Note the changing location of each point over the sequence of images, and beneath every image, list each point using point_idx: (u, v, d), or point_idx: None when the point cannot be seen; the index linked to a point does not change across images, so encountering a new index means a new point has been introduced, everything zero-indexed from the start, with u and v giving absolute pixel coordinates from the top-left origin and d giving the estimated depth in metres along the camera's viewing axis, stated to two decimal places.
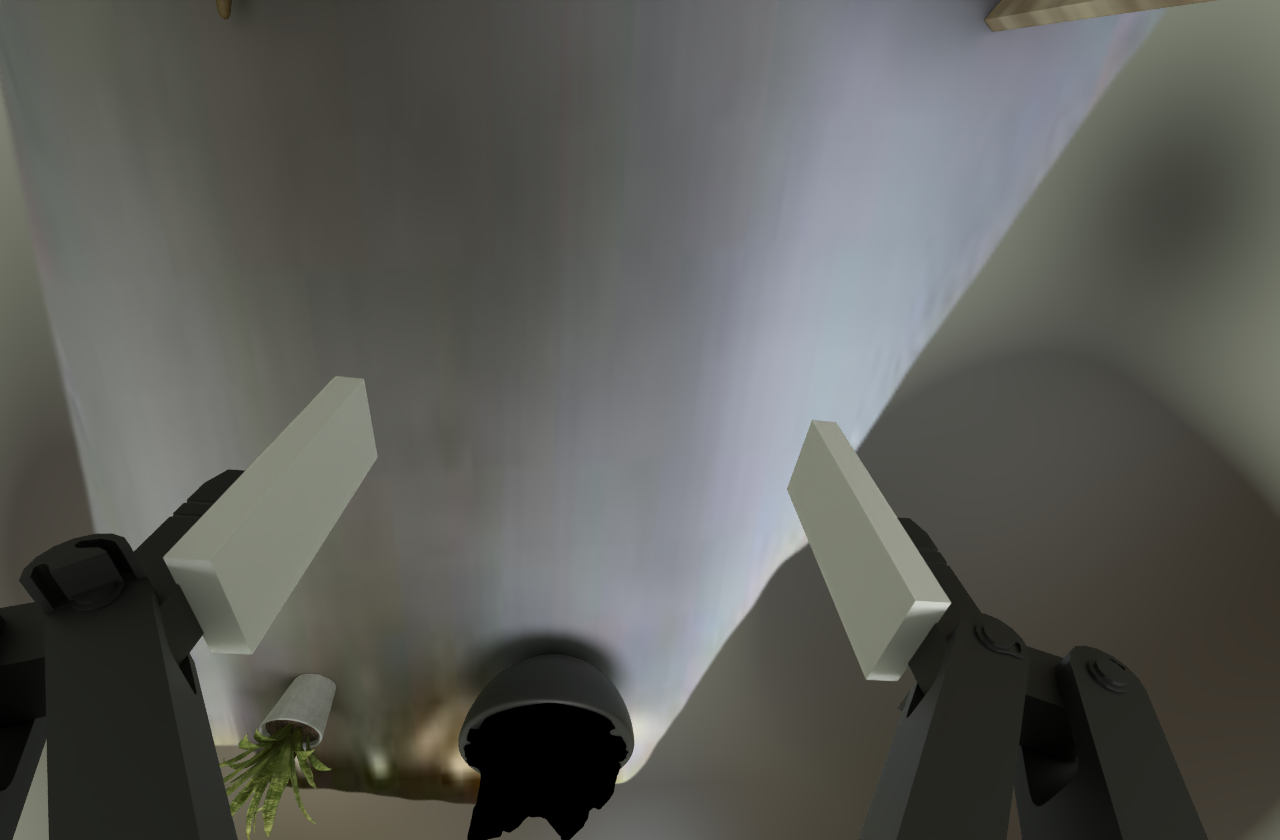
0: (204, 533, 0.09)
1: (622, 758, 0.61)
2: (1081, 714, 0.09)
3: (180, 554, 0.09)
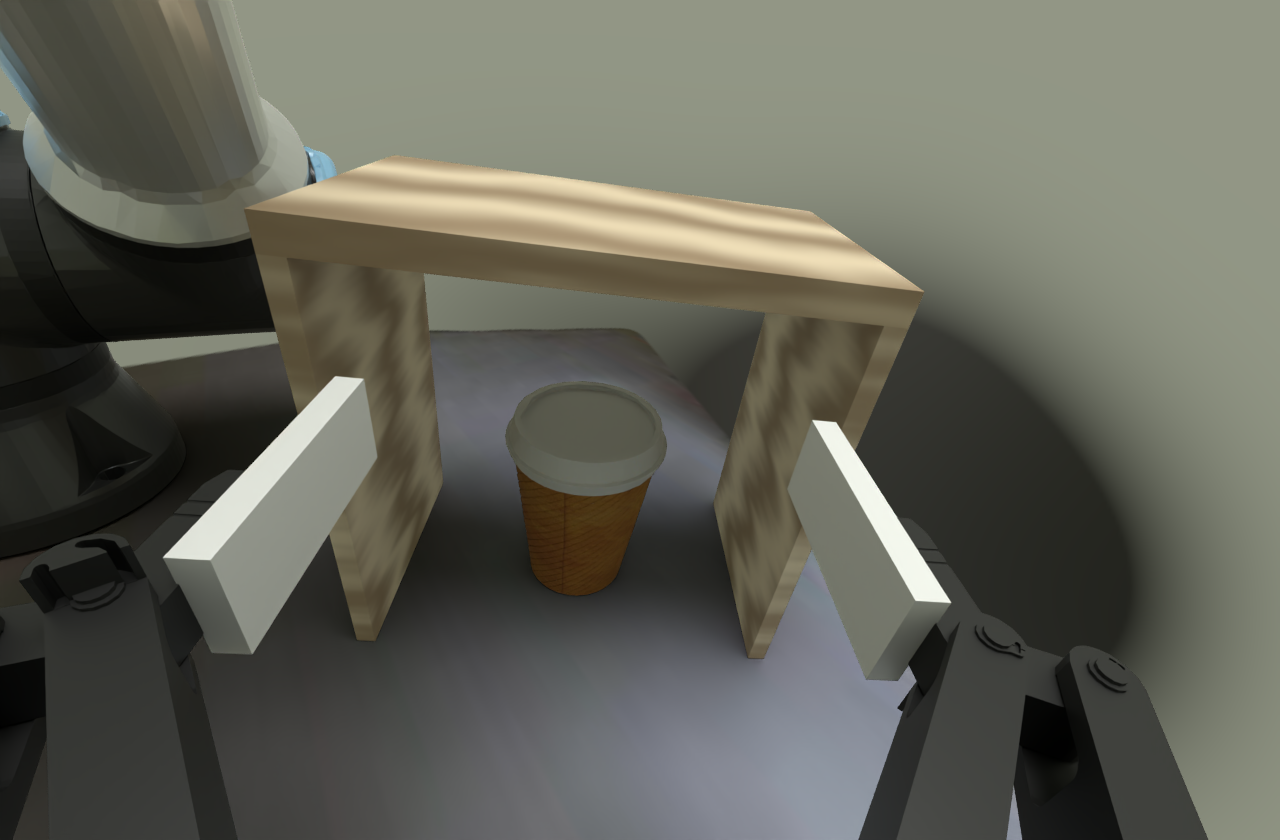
0: (204, 533, 0.09)
1: None
2: (1081, 714, 0.09)
3: (180, 554, 0.09)
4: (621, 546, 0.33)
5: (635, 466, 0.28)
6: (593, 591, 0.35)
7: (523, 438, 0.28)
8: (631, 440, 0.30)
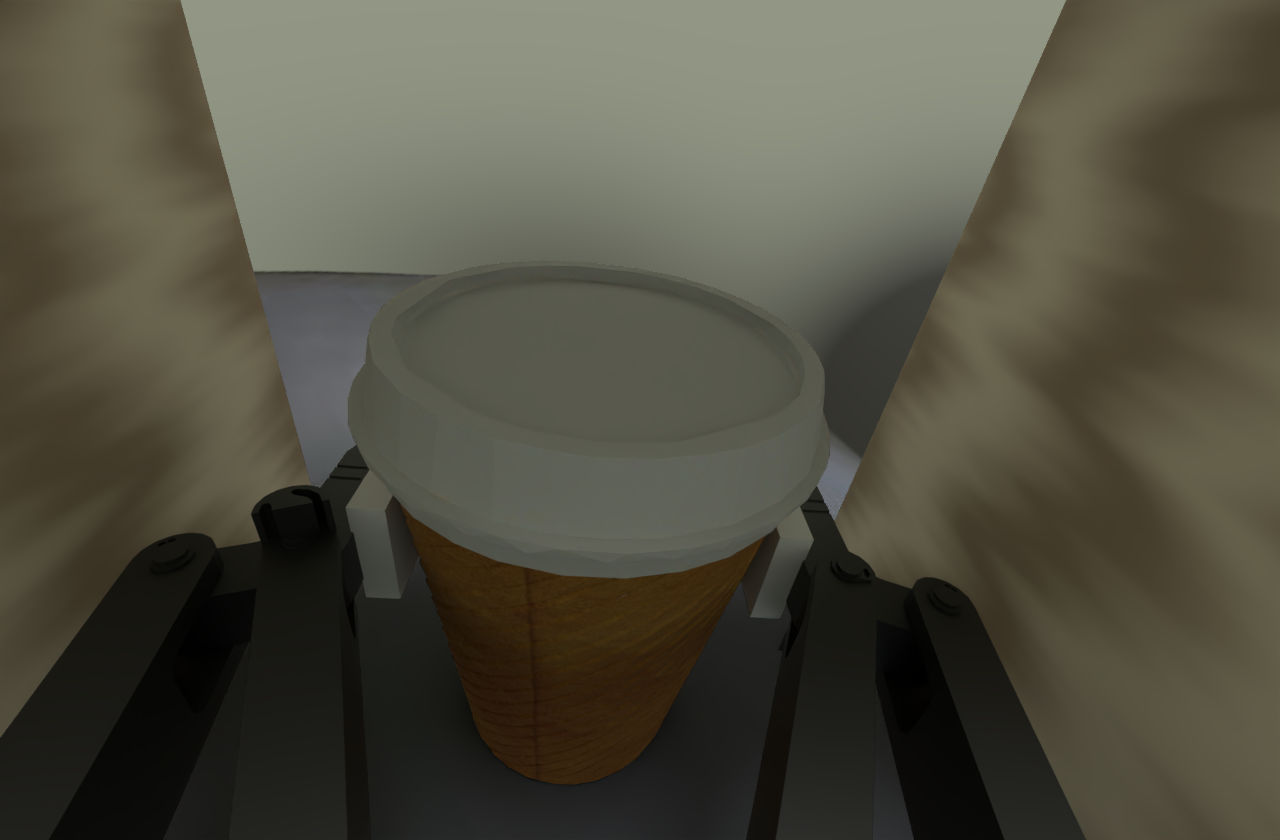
0: (372, 489, 0.11)
1: None
2: (929, 643, 0.10)
3: (359, 505, 0.10)
4: (686, 675, 0.13)
5: (773, 471, 0.08)
6: (613, 771, 0.14)
7: (380, 375, 0.08)
8: (739, 389, 0.10)
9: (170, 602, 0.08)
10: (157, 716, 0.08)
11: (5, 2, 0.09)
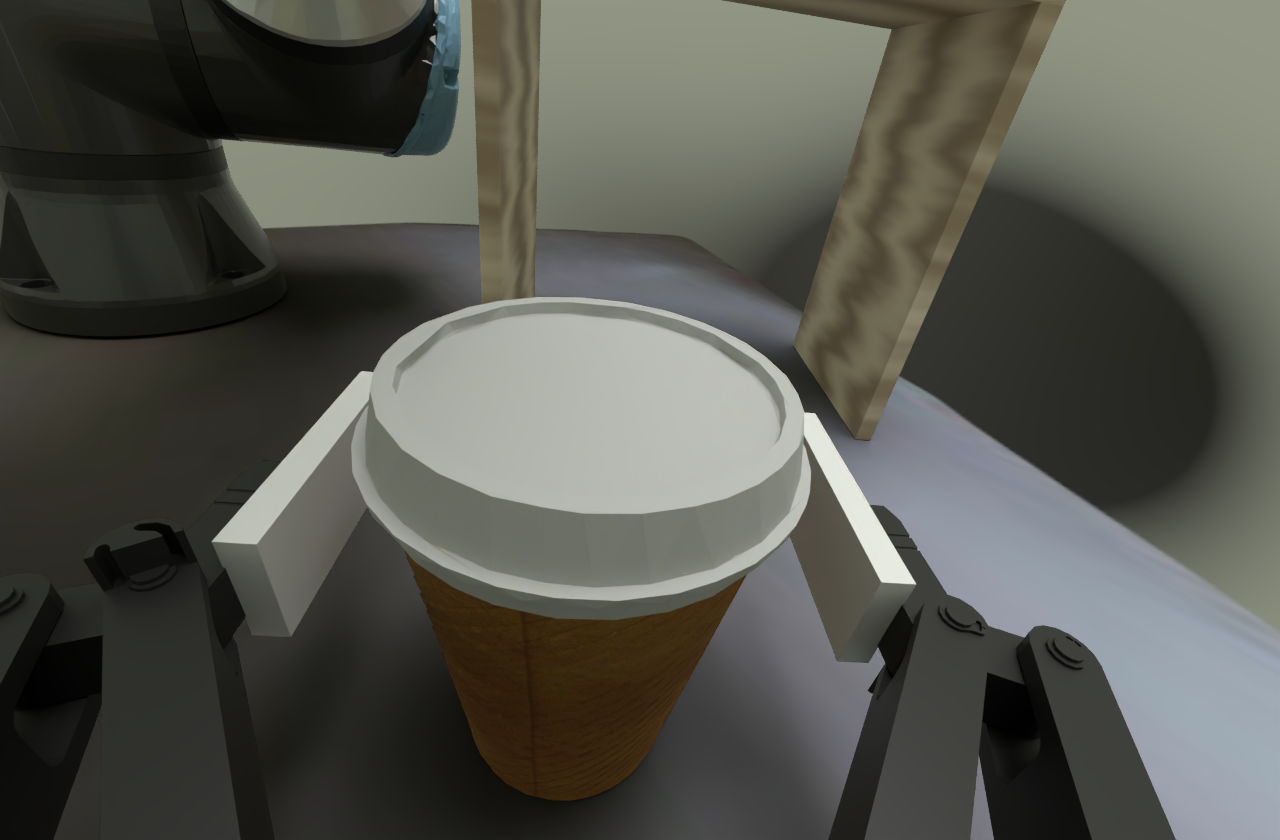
0: (249, 519, 0.10)
1: None
2: (1042, 693, 0.09)
3: (228, 538, 0.09)
4: (678, 695, 0.14)
5: (753, 516, 0.09)
6: (609, 787, 0.15)
7: (383, 430, 0.08)
8: (723, 432, 0.10)
9: None
10: (0, 775, 0.07)
11: (529, 91, 0.30)
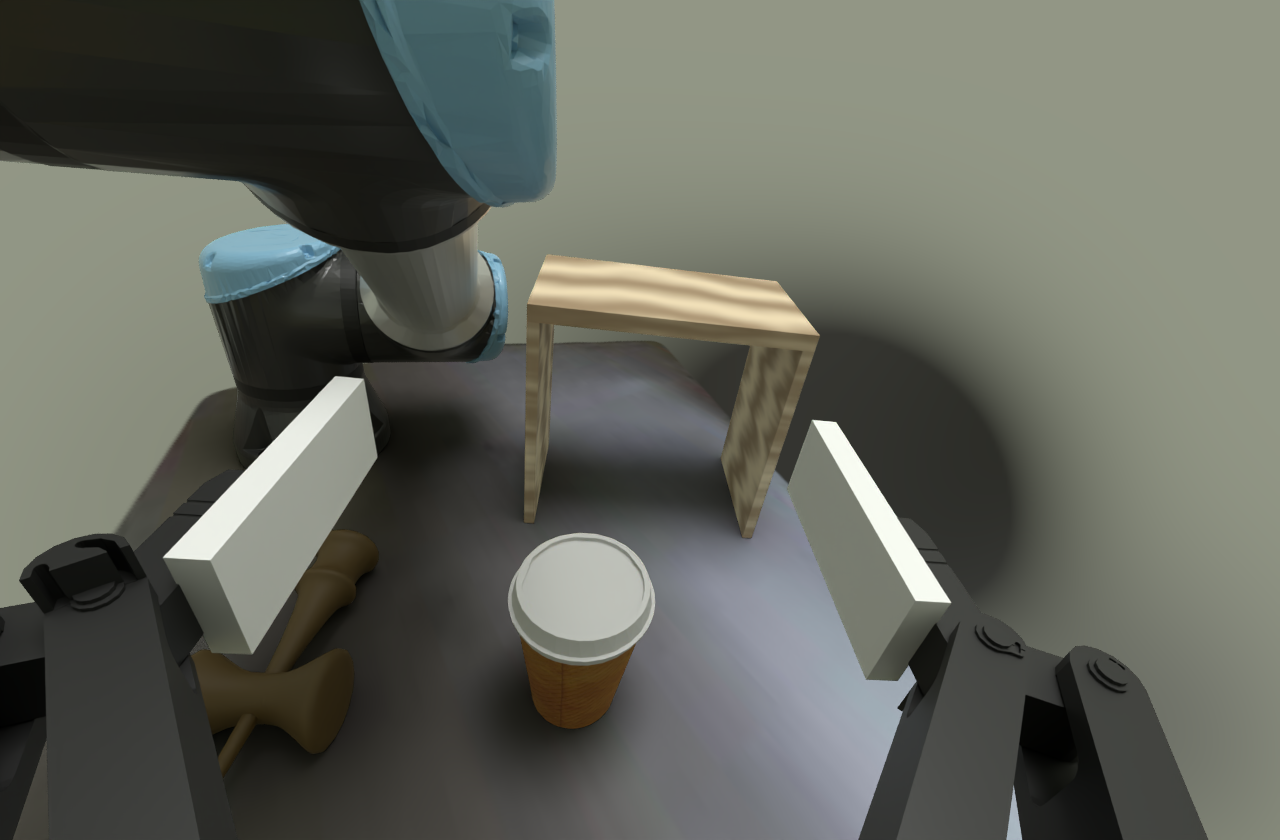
0: (204, 533, 0.09)
1: None
2: (1081, 714, 0.09)
3: (180, 554, 0.09)
4: (614, 687, 0.36)
5: (625, 637, 0.31)
6: (589, 723, 0.38)
7: (524, 613, 0.31)
8: (622, 604, 0.33)
9: None
10: None
11: (549, 343, 0.53)
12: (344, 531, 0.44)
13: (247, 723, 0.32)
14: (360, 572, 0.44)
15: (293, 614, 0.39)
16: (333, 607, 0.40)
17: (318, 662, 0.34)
